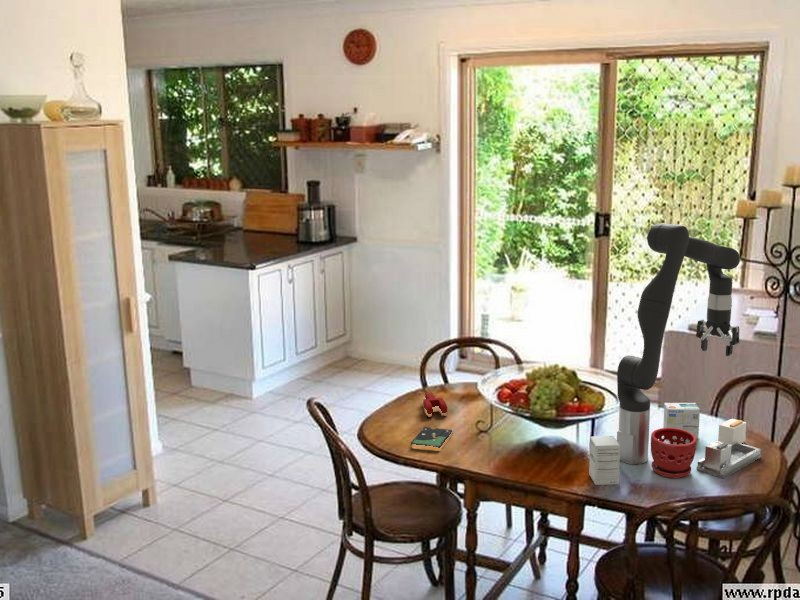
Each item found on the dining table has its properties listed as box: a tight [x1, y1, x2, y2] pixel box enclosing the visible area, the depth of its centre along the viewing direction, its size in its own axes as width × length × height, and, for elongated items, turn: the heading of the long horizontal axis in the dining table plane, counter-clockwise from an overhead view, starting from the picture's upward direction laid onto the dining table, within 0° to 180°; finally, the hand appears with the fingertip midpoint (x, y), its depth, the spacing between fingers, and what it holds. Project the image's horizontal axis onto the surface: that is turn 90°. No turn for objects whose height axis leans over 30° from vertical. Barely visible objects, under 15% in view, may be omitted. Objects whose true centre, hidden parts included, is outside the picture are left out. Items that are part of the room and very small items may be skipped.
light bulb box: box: [662, 402, 701, 440], centre depth 281 cm, size 11×7×11 cm, turn 84°
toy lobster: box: [422, 392, 448, 414], centre depth 311 cm, size 16×7×5 cm, turn 11°
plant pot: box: [650, 427, 698, 479], centre depth 253 cm, size 13×13×12 cm
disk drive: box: [410, 426, 453, 448], centre depth 283 cm, size 10×3×15 cm
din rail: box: [696, 440, 762, 479], centre depth 259 cm, size 22×9×9 cm, turn 130°
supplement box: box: [588, 435, 620, 486], centre depth 250 cm, size 7×7×13 cm
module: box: [717, 418, 747, 444], centre depth 274 cm, size 8×5×8 cm, turn 130°
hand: (716, 353), depth 283 cm, fingers open, 8 cm apart
